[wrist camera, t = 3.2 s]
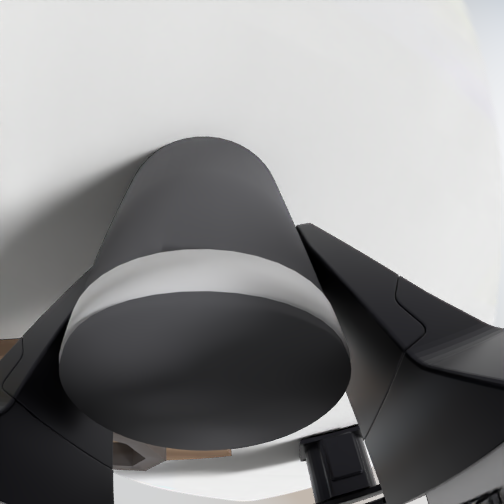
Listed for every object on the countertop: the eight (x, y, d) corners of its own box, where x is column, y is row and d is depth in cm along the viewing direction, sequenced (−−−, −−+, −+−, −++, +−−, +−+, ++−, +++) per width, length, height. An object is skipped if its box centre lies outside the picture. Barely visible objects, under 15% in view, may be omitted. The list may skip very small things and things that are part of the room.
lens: (286, 258, 12) (339, 429, 7) (152, 282, 12) (133, 454, 7) (272, 121, 9) (374, 262, 4) (106, 157, 9) (-3, 323, 4)
